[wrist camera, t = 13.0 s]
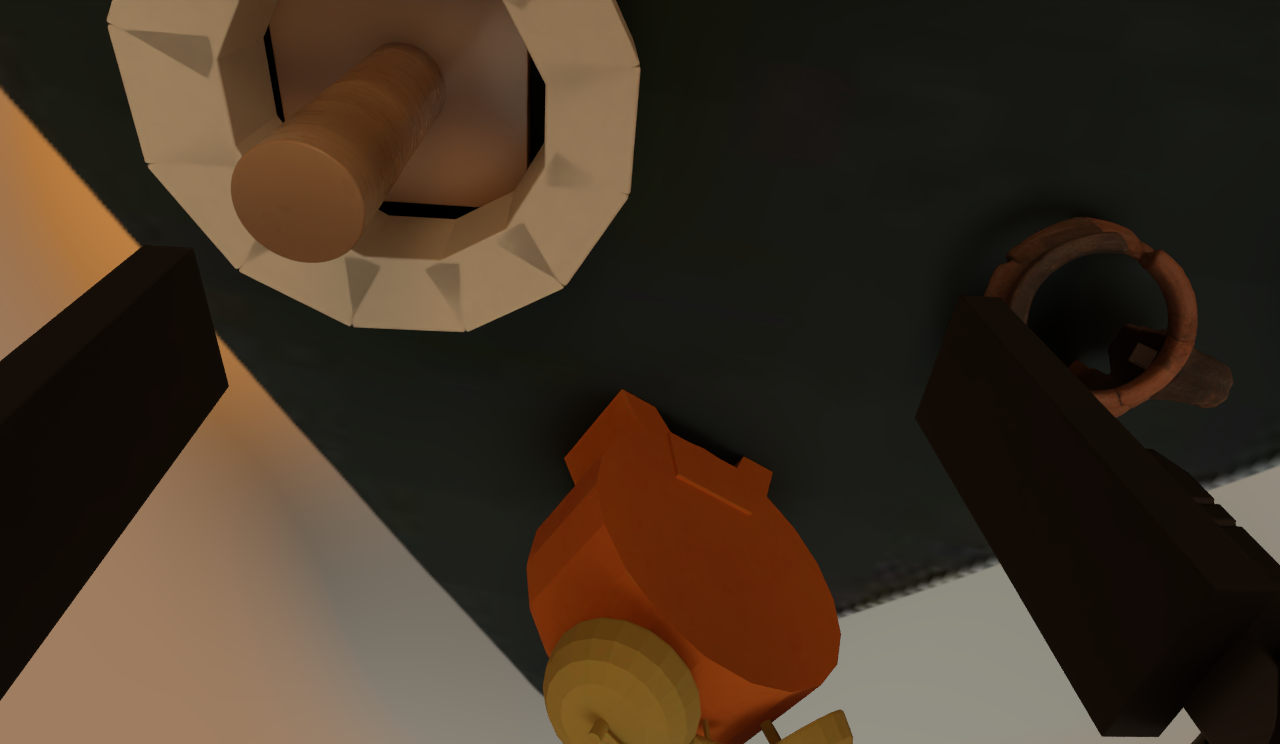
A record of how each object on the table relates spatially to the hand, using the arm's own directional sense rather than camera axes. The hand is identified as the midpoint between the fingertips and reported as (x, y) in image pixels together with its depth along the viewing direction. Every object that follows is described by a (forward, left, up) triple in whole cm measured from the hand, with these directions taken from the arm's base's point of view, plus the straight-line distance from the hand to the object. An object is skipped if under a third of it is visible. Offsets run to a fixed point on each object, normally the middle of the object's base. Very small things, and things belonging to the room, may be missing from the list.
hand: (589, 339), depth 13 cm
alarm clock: (+10, +17, -19) cm, 28 cm away
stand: (+5, -5, -19) cm, 20 cm away
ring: (+5, -5, -18) cm, 19 cm away
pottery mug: (-10, +22, -19) cm, 31 cm away
